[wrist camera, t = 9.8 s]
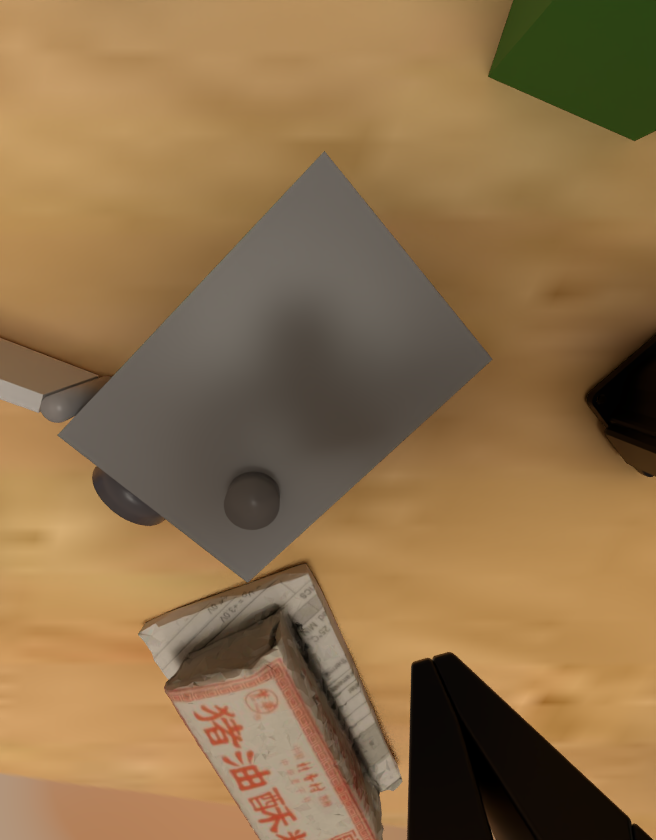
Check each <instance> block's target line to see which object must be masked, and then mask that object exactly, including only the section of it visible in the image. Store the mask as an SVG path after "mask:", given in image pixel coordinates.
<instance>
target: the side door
mask: <svg viewBox="0 0 656 840" xmlns="http://www.w3.org/2000/svg"><path fill="white" fill-rule="evenodd" d="M98 376H99V375H96V374H94V373H91V372H88V371H86V370H83V369H81V368H78V367H75V366H73V365H70V364H67V363H65V362H62V361H60V360H57V359H54V358H52V357H49V356H47V355H44V354H41V353H39V352H36V351H33V350H31V349H28V348H26V347H23V346H20V345H18V344H15V343H12V342H10V341H7V340H5V339H2V338H0V399H1V400H4V401H7V402H10V403H12V404H15V405H18V406H21V407H24V408H27V409H29V410H32V411H35V412H38V413H39V412H42V414H43V416H44V417H45V418H46V419H48V420H49V421H52V422H56V423H60V422H64V421H66V420H68V419H70V418H72V417H74V416H76V415H77V414H78V413H79V412H80V411H81V410H82V409H83V407H84V406H85V405H86V404H87V403H88V402H89V401H90V400H91V399H92V398H93V397H94V396H95V395H96V394H97V393H98V392H99V390H100V389H101V388H102V387H103V386H104V385H105V384H106V383H107V382H108V381H109V380H110V379H111V378H112V377H110V376H103V377H100V378H98Z"/></svg>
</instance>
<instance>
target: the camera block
mask: <svg viewBox="0 0 656 840" xmlns="http://www.w3.org/2000/svg"><path fill="white" fill-rule="evenodd" d="M491 360H492V358H491V357H490V356H489V354H488V353H487V352H486V351H485V350H484V348H483V347H482V346H481V345H480V343H479V342H478V341H477V340H476V338H475V337H474V336H473V335H472V333H471V332H470V331H469V330H468V328H467V327H466V326H465V325H464V323H463V322H462V321H461V320H460V319H459V317H458V316H457V315H456V314H455V312H454V311H453V310H452V309H451V307H450V306H449V305H448V304H447V302H446V301H445V300H444V299H443V297H442V296H441V295H440V294H439V292H438V291H437V290H436V289H435V288H434V286H433V285H432V284H431V283H430V281H429V280H428V279H427V278H426V276H425V275H424V274H423V273H422V271H421V270H420V269H419V268H418V266H417V265H416V264H415V263H414V262H413V260H412V259H411V258H410V257H409V255H408V254H407V253H406V252H405V250H404V249H403V248H402V247H401V245H400V244H399V243H398V242H397V240H396V239H395V238H394V237H393V235H392V234H391V233H390V232H389V231H388V229H387V228H386V227H385V226H384V224H383V223H382V222H381V221H380V219H379V218H378V217H377V216H376V214H375V213H374V212H373V211H372V209H371V208H370V207H369V206H368V204H367V203H366V202H365V201H364V200H363V198H362V197H361V196H360V195H359V193H358V192H357V191H356V190H355V188H354V187H353V186H352V185H351V183H350V182H349V181H348V180H347V178H346V177H345V176H344V175H343V174H342V172H341V171H340V170H339V169H338V167H337V166H336V165H335V164H334V162H333V161H332V160H331V159H330V157H329V156H328V155H327V154H326V152H325V151H324V152H323V153H322V154H321V155H320V156H319V157H318V159H317V160H316V161H315V162H314V163H313V164H312V165H311V166H310V167H309V168H308V169H307V170H306V171H305V172H304V173H303V174H302V176H301V177H300V178H299V179H298V180H297V181H296V182H295V183H294V184H293V185H292V186H291V187H290V188H289V189H288V190H287V191H286V193H285V194H284V195H283V196H282V197H281V198H280V199H279V200H278V201H277V202H276V203H275V204H274V205H273V206H272V207H271V209H270V210H269V211H268V212H267V213H266V214H265V215H264V216H263V217H262V218H261V219H260V220H259V221H258V222H257V223H256V224H255V226H254V227H253V228H252V229H251V230H250V231H249V232H248V233H247V234H246V235H245V236H244V237H243V238H242V239H241V240H240V241H239V243H238V244H237V245H236V246H235V247H234V248H233V249H232V250H231V251H230V252H229V253H228V254H227V255H226V256H225V257H224V259H223V260H222V261H221V262H220V263H219V264H218V265H217V266H216V267H215V268H214V269H213V270H212V271H211V272H210V273H209V274H208V276H207V277H206V278H205V279H204V280H203V281H202V282H201V283H200V284H199V285H198V286H197V287H196V288H195V289H194V290H193V292H192V293H191V294H190V295H189V296H188V297H187V298H186V299H185V300H184V301H183V302H182V303H181V304H180V305H179V306H178V307H177V309H176V310H175V311H174V312H173V313H172V314H171V315H170V316H169V317H168V318H167V319H166V320H165V321H164V322H163V323H162V324H161V326H160V327H159V328H158V329H157V330H156V331H155V332H154V333H153V334H152V335H151V336H150V337H149V338H148V339H147V340H146V342H145V343H144V344H143V345H142V346H141V347H140V348H139V349H138V350H137V351H136V352H135V353H134V354H133V355H132V356H131V357H130V359H129V360H128V361H127V362H126V363H125V364H124V365H123V366H122V367H121V368H120V369H119V370H118V371H117V372H116V373H115V374H114V376H113V377H112V378H111V379H110V380H109V381H108V382H107V383H106V384H105V385H104V386H103V387H102V388H101V389H100V390H99V392H98V393H97V394H96V395H95V396H94V397H93V398H92V399H91V400H90V401H89V402H88V403H87V404H86V405H85V406H84V407H83V409H82V410H81V411H80V412H79V413H78V414H77V415H76V416H75V417H74V418H73V419H72V420H71V421H70V422H69V423H68V425H67V426H66V427H65V428H64V429H63V430H62V431H61V432H60V433H59V434H58V436H59V437H60V438H61V439H63V440H64V441H65V442H67V443H68V444H69V445H70V446H72V447H73V448H74V449H76V450H77V451H78V452H79V453H81V454H82V455H83V456H85V457H86V458H87V459H89V460H90V461H91V462H92V463H94V464H95V465H96V467H95V469H94V471H93V476H92V479H93V484H94V487H95V490H96V492H97V494H98V495H99V497H100V498H101V500H102V501H103V502H104V503H105V504H106V505H107V506H108V507H109V508H110V509H111V510H112V511H113V512H115V513H116V514H118V515H119V516H121V517H122V518H124V519H126V520H128V521H130V522H133V523H136V524H139V525H145V526H152V525H157V524H159V523H161V522H163V521H164V520H165V519H166V520H167V521H169V522H170V523H171V524H173V525H174V526H175V527H176V528H178V529H179V530H180V531H182V532H183V533H184V534H185V535H187V536H188V537H189V538H191V539H192V540H193V541H194V542H196V543H197V544H198V545H200V546H201V547H202V548H204V549H205V550H206V551H207V552H209V553H210V554H211V555H213V556H214V557H215V558H216V559H218V560H219V561H220V562H222V563H223V564H224V565H225V566H227V567H228V568H229V569H231V570H232V571H233V572H235V573H236V574H237V575H238V576H240V577H241V578H242V579H244V580H245V581H246V582H247V583H248V582H249V581H250V580H251V579H252V578H253V577H254V576H255V575H257V574H258V573H259V572H260V571H261V570H262V569H263V568H264V567H265V566H266V565H267V564H269V563H270V562H271V561H272V560H273V559H274V558H275V557H276V556H277V555H278V554H280V553H281V552H282V551H283V550H284V549H285V548H286V547H287V546H288V545H289V544H291V543H292V542H293V541H294V540H295V539H296V538H297V537H298V536H299V535H300V534H302V533H303V532H304V531H305V530H306V529H307V528H308V527H309V526H310V525H311V524H312V523H314V522H315V521H316V520H317V519H318V518H319V517H320V516H321V515H322V514H323V513H325V512H326V511H327V510H328V509H329V508H330V507H331V506H332V505H333V504H334V503H336V502H337V501H338V500H339V499H340V498H341V497H342V496H343V495H344V494H345V493H346V492H348V491H349V490H350V489H351V488H352V487H353V486H354V485H355V484H356V483H357V482H359V481H360V480H361V479H362V478H363V477H364V476H365V475H366V474H367V473H368V472H370V471H371V470H372V469H373V468H374V467H375V466H376V465H377V464H378V463H379V462H381V461H382V460H383V459H384V458H385V457H386V456H387V455H388V454H389V453H390V452H391V451H393V450H394V449H395V448H396V447H397V446H398V445H399V444H400V443H401V442H402V441H404V440H405V439H406V438H407V437H408V436H409V435H410V434H411V433H412V432H413V431H415V430H416V429H417V428H418V427H419V426H420V425H421V424H422V423H423V422H424V421H425V420H427V419H428V418H429V417H430V416H431V415H432V414H433V413H434V412H435V411H436V410H438V409H439V408H440V407H441V406H442V405H443V404H444V403H445V402H446V401H447V400H449V399H450V398H451V397H452V396H453V395H454V394H455V393H456V392H457V391H458V390H460V389H461V388H462V387H463V386H464V385H465V384H466V383H467V382H468V381H469V380H470V379H472V378H473V377H474V376H475V375H476V374H477V373H478V372H479V371H480V370H481V369H483V368H484V367H485V366H486V365H487V364H488V363H489V362H490V361H491Z"/></svg>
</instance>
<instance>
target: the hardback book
mask: <svg viewBox="0 0 656 840" xmlns="http://www.w3.org/2000/svg"><path fill="white" fill-rule="evenodd" d="M488 77H490V78H493V79H495V80H497V81H499V82H502V83H504V84H506V85H509V86H511V87H513V88H515V89H518V90H520V91H522V92H524V93H527V94H529V95H531V96H534V97H536V98H538V99H540V100H543V101H545V102H547V103H549V104H552V105H554V106H556V107H559V108H561V109H563V110H565V111H568V112H570V113H572V114H575V115H577V116H579V117H581V118H584V119H586V120H588V121H590V122H593V123H595V124H597V125H600V126H602V127H604V128H606V129H609V130H611V131H613V132H615V133H618V134H620V135H622V136H625V137H627V138H629V139H631V140H634V141H636V140H638V139H640V138H642V137H644V136H646V135H648V134H650V133H652V132H654V131H656V0H513V3H512V6H511V9H510V12H509V15H508V18H507V21H506V24H505V27H504V30H503V33H502V36H501V39H500V42H499V45H498V48H497V51H496V54H495V57H494V60H493V63H492V66H491V69H490V72H489V75H488Z"/></svg>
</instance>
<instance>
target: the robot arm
mask: <svg viewBox="0 0 656 840" xmlns="http://www.w3.org/2000/svg"><path fill="white" fill-rule="evenodd" d="M599 395H600V399H599V401H597V397H598V396H599ZM587 403H588V405H589V406H590V408H591V409H592V410H593V412H594V413H595V414H596V416H597V417H598V418H599V420H600V421H601V422H602V424H603V425H604V426H605V435H606V436H607V438H608V439H609V440H610V442H611V443H612V444H613V446H614V447H615V448H616V450H617V451H618V452H619V454H620V455H621V456H622V458H623V459H624V460H625V462H626V463H627V464H629V465H631V466H633V467H635V468H636V469H637V470H638V472H639V473H641V474H643V475H645V476H647V477H653V476H655V477H656V335H655V336H654V337H652V338H651V339H650V340H649V341H648V342H647V343H646V344H644V345H643V346H642V347H641V348H640V349H639V350H637V351H636V352H635V353H634V354H633V355H632V356H630V357H629V358H628V359H627V360H626V361H625V362H624V363H622V364H621V365H620V366H619V367H618V368H617V369H615V370H614V371H613V372H612V373H611V374H610V375H609V376H607V377H606V378H605V379H604V380H603V381H602V382H600V383H599V384H598V385H597V386H596V387H595V388H594V389H592V390H591V391H590V392H589V394H588V395H587ZM490 828H491V829H490ZM491 830H492V832H491ZM407 832H408V833H407V840H494V839H493V836H492V833H493V835H494V837H495V839H496V840H653V839H652V838H651V837H650V836H649V835H648V834H647V833H645V832H644V831H643V830H642V829H641V828H640V827H639V826H638V825H637V824H631V820H630V818H629V817H628V816H627V815H626V814H625V813H624V812H623V811H622V810H621V809H619V808H618V807H617V806H616V805H615V804H614V803H613V802H612V801H611V800H610V799H609V798H608V797H607V796H606V795H604V794H603V793H602V792H601V791H600V790H599V789H598V788H597V787H596V786H595V785H594V784H593V783H592V782H591V781H589V780H588V779H587V778H586V777H585V776H584V775H583V774H582V773H581V772H580V771H579V770H578V769H577V768H576V767H575V766H573V765H572V764H571V763H570V762H569V761H568V760H567V759H566V758H565V757H564V756H563V755H562V754H561V753H560V752H558V751H557V750H556V749H555V748H554V747H553V746H552V745H551V744H550V743H549V742H548V741H547V740H546V739H545V738H543V737H542V736H541V735H540V734H539V733H538V732H537V731H536V730H535V729H534V728H533V727H532V726H531V725H530V724H528V723H527V722H526V721H525V720H524V719H523V718H522V717H521V716H520V715H519V714H518V713H517V712H516V711H515V710H514V709H512V708H511V707H510V706H509V705H508V704H507V703H506V702H505V701H504V700H503V699H502V698H501V697H500V696H499V695H497V694H496V693H495V692H494V691H493V690H492V689H491V688H490V687H489V686H488V685H487V684H486V683H485V682H484V681H482V680H481V679H480V678H479V677H478V676H477V675H476V674H475V673H474V672H473V671H472V670H471V669H470V668H469V667H467V666H466V665H465V664H464V663H463V662H462V661H461V660H460V659H459V658H458V657H457V656H456V655H454V654H453V653H451V652H447V653H443V654H440V655H436V656H434V657H433V659H430V658H425V659H422V660H418V661H415V662H413V663H412V666H411V703H410V746H409V788H408V830H407Z"/></svg>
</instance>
